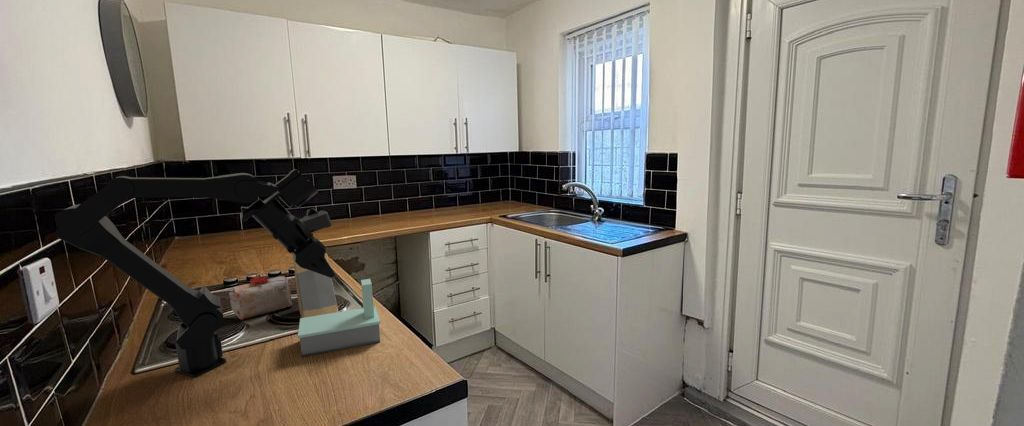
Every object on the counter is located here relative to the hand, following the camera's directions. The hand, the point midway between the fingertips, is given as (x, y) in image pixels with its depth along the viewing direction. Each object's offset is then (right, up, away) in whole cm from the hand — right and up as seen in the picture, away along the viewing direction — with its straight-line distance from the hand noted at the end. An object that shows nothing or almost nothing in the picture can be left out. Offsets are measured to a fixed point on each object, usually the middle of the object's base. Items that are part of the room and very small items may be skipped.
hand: (328, 271), depth 99 cm
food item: (-25, -13, +16) cm, 32 cm away
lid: (+4, -12, -2) cm, 13 cm away
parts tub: (+4, -16, -1) cm, 16 cm away
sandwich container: (-8, -14, +13) cm, 20 cm away
